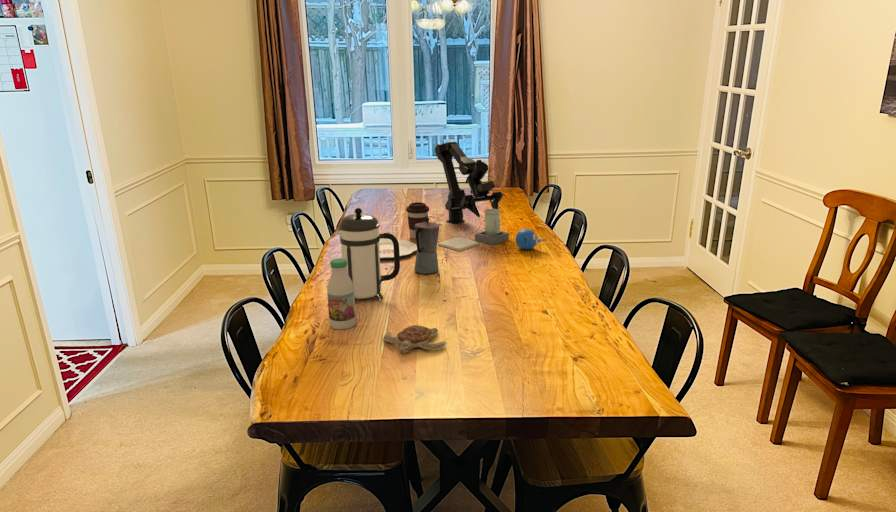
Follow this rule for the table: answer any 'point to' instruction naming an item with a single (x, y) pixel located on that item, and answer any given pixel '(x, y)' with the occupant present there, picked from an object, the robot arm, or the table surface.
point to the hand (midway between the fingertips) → (488, 215)
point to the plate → (404, 248)
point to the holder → (489, 239)
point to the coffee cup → (416, 216)
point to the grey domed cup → (492, 222)
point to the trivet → (458, 243)
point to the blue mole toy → (527, 239)
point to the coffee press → (365, 253)
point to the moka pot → (426, 247)
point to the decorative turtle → (414, 338)
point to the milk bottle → (341, 296)
